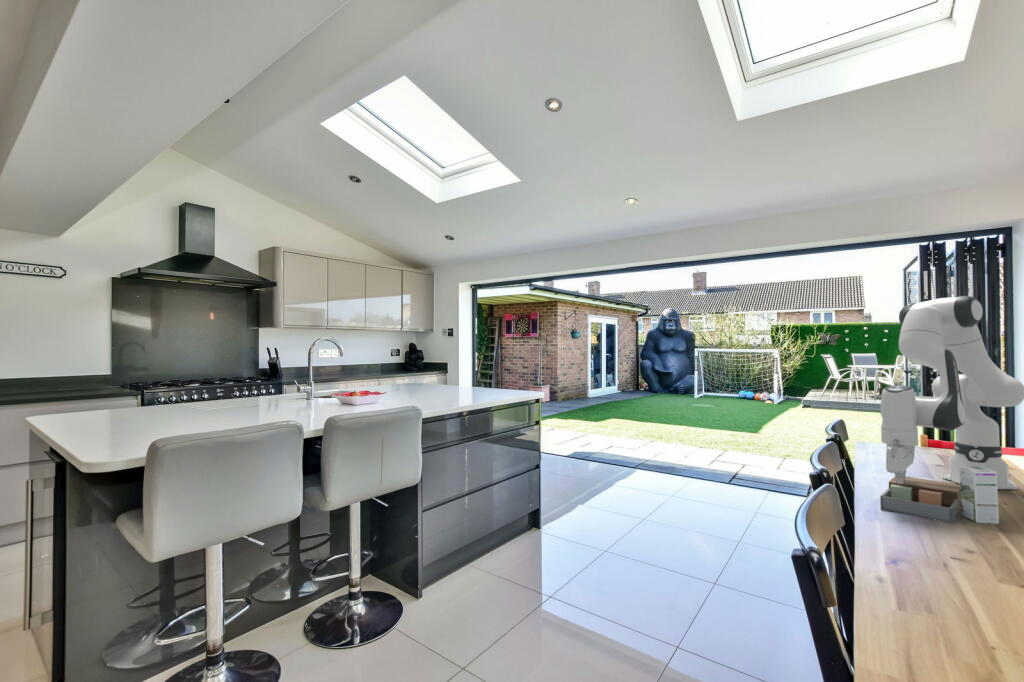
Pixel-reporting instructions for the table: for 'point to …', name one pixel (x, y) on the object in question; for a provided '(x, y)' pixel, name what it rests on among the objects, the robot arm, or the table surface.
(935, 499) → the terracotta tile
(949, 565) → the table surface
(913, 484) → the brown rectangular block
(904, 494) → the sage-green tile
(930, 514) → the box
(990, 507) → the syrup box
